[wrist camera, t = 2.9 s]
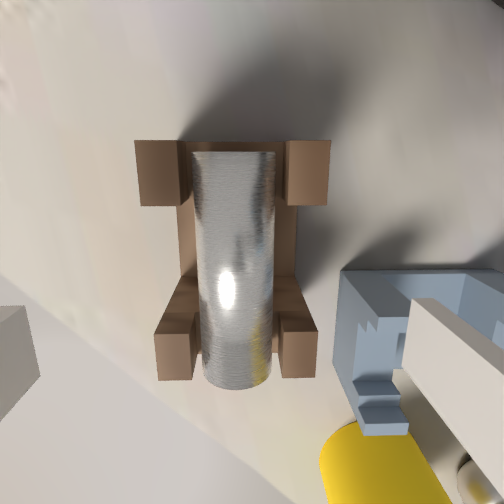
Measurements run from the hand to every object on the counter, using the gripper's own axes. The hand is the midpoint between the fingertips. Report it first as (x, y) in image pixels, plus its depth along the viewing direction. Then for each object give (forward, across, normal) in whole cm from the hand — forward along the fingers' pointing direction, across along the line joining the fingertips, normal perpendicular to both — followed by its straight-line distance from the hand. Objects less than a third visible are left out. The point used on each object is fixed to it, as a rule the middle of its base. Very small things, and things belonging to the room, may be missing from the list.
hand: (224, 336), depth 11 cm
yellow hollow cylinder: (+16, +14, -24) cm, 31 cm away
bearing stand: (+15, 0, 0) cm, 15 cm away
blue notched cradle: (+15, +16, -8) cm, 23 cm away
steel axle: (+8, 0, 0) cm, 8 cm away
